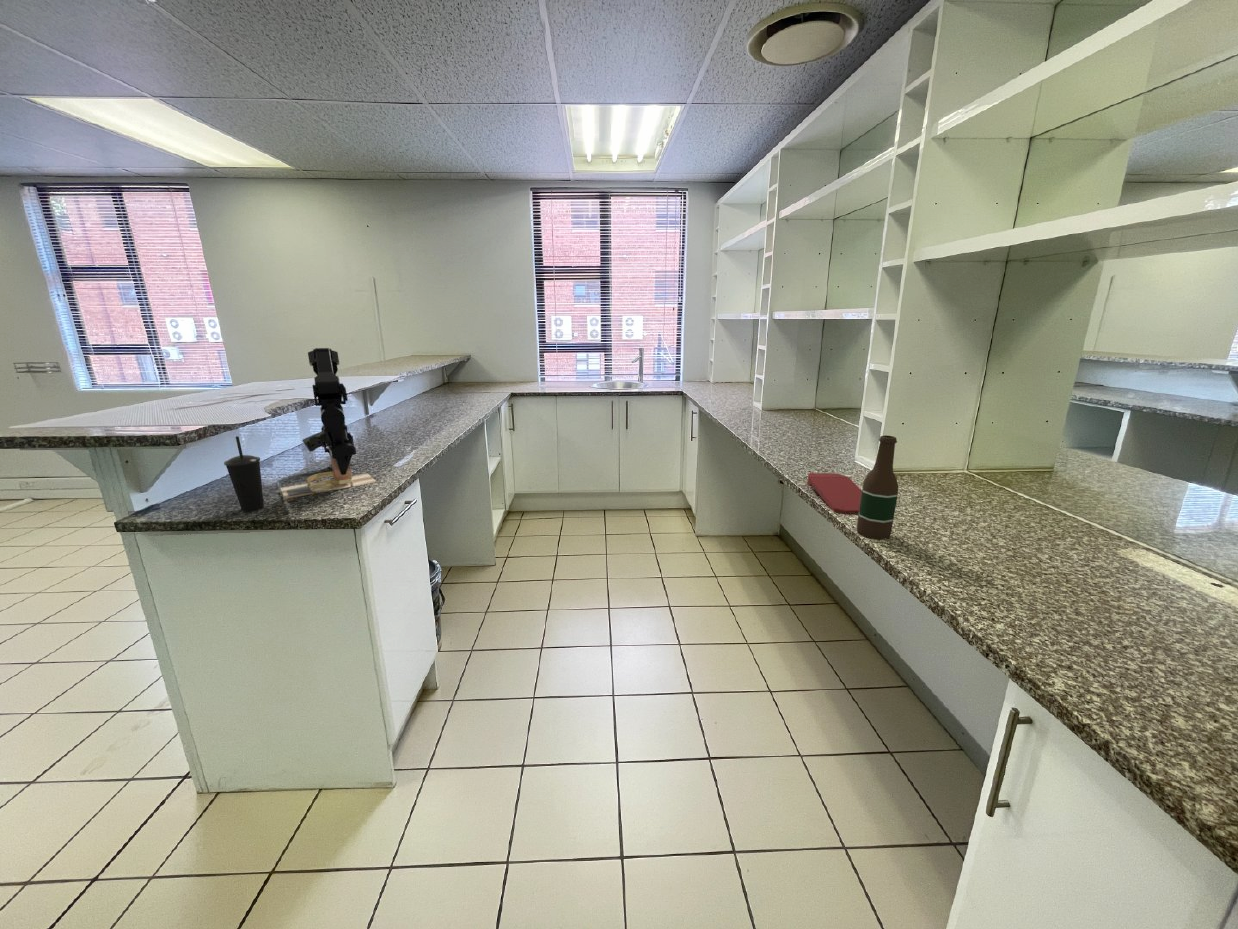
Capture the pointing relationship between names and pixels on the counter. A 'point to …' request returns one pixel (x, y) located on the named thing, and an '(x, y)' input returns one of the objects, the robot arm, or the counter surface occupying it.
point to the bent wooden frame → (330, 482)
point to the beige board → (306, 490)
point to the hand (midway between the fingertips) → (342, 472)
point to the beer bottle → (879, 494)
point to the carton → (837, 491)
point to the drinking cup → (246, 480)
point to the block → (337, 471)
